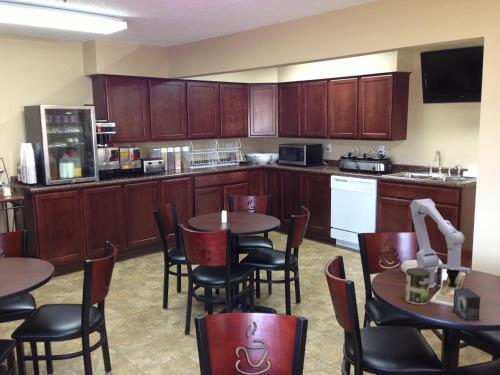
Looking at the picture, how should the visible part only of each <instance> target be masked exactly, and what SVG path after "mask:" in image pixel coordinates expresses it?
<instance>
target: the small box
mask: <svg viewBox="0 0 500 375" xmlns="http://www.w3.org/2000/svg"><path fill="white" fill-rule="evenodd" d="M480 303H481V296H479V294H477V293H475V292H474V291H472V290H470V289H469V288H467V287H465V288H462V287H461V288H460V289H454V304H453V307H452V308H453V310H452V311H453V312H454V313H455V314H457V315H458V316H459V317H460V318H461V319H462V320H464V321H465V322H467V321H468V322H469V321H473V322H474V321H479V320H480V307H481V306H480V305H481V304H480Z"/></svg>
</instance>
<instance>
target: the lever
mask: <svg viewBox="0 0 500 375" xmlns="http://www.w3.org/2000/svg"><path fill="white" fill-rule="evenodd" d="M465 276H466V272H459V274H458V276H457V278H456V280H455V284H454V286H452V285H450V280H449V277H448V275H447V277H446V279H445V280H446V281H445V284H444V286H443V289H442V294H446V293H449V294H450V295H451V296H454V289H460V288H462V284H464V282H465Z"/></svg>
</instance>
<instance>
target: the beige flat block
mask: <svg viewBox="0 0 500 375" xmlns="http://www.w3.org/2000/svg"><path fill="white" fill-rule="evenodd" d="M437 292H438V291H437ZM437 292H436V293H437ZM436 293H435V294H436ZM444 295H445V294H442V291H441V290H440V291H439V292H438V293H437V294H436V300H441V301H445V302H450V303H454V296H451V297H449V296H444Z"/></svg>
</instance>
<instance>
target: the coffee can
mask: <svg viewBox="0 0 500 375" xmlns="http://www.w3.org/2000/svg"><path fill="white" fill-rule="evenodd" d="M406 272H407V274H406V276H405V278H406V280H405V299H404V300H405V301H406V302H407V303H409V304H413V305H419V306H421V305H427V304H428V303H429V290H430V288H429V278H430V272H429V271H427V270H424V269H419V268H410V269H407V270H406Z"/></svg>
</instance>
